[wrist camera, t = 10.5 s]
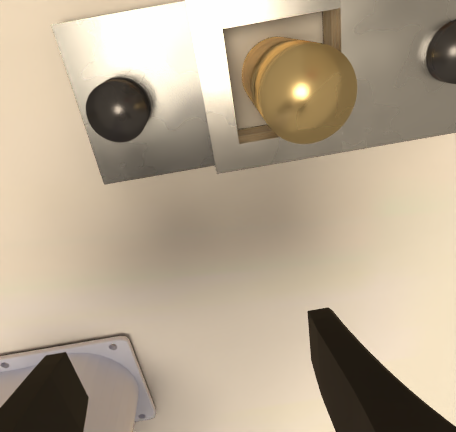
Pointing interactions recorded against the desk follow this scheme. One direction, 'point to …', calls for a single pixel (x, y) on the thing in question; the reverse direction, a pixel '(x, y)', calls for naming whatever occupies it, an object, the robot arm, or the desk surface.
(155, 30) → the square cutout plate
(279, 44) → the brass pin
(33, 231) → the desk surface
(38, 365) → the robot arm
